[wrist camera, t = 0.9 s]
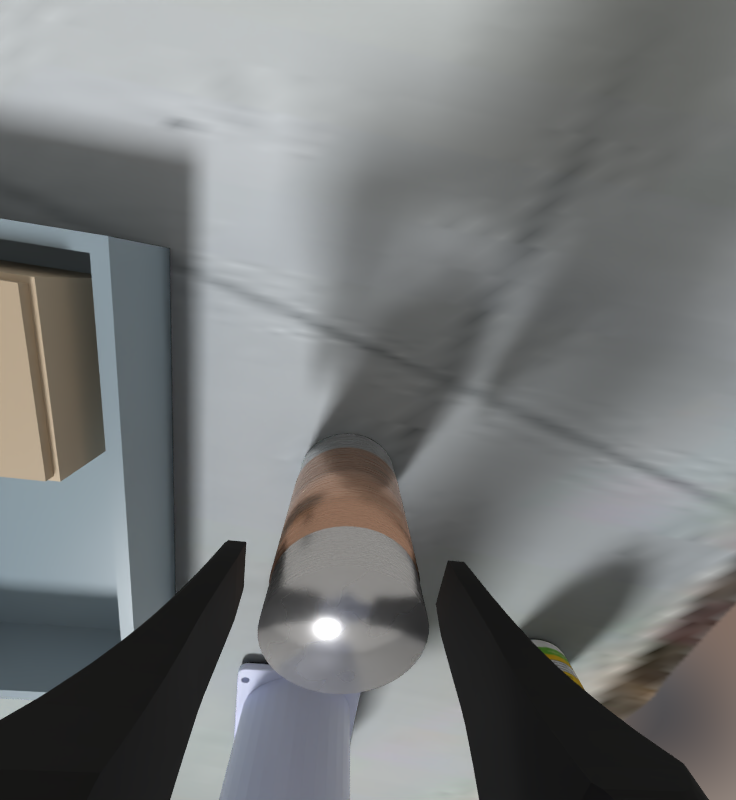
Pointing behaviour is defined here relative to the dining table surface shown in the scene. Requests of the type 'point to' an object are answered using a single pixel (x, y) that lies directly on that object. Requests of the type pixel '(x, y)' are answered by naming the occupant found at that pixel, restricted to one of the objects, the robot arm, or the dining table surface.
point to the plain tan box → (48, 373)
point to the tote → (94, 478)
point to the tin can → (344, 575)
